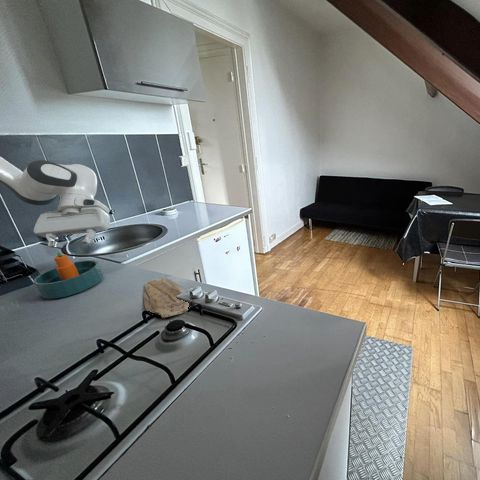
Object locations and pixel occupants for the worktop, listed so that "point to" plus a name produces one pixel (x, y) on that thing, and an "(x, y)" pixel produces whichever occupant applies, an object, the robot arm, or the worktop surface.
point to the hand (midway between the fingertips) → (69, 245)
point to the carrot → (65, 267)
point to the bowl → (69, 280)
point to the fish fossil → (164, 298)
